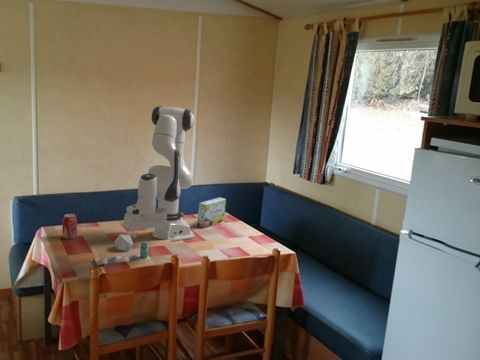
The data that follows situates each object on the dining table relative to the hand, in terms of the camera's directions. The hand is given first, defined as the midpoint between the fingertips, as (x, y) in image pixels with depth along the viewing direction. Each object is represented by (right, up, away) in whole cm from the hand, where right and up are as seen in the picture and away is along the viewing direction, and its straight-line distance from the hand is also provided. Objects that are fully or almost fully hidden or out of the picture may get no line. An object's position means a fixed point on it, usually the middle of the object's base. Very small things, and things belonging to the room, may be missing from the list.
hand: (144, 236), depth 224 cm
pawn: (-1, -10, +3) cm, 10 cm away
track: (-10, -11, -1) cm, 15 cm away
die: (-13, -9, +11) cm, 19 cm away
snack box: (+27, 0, +65) cm, 71 cm away
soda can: (-43, -3, +22) cm, 49 cm away
